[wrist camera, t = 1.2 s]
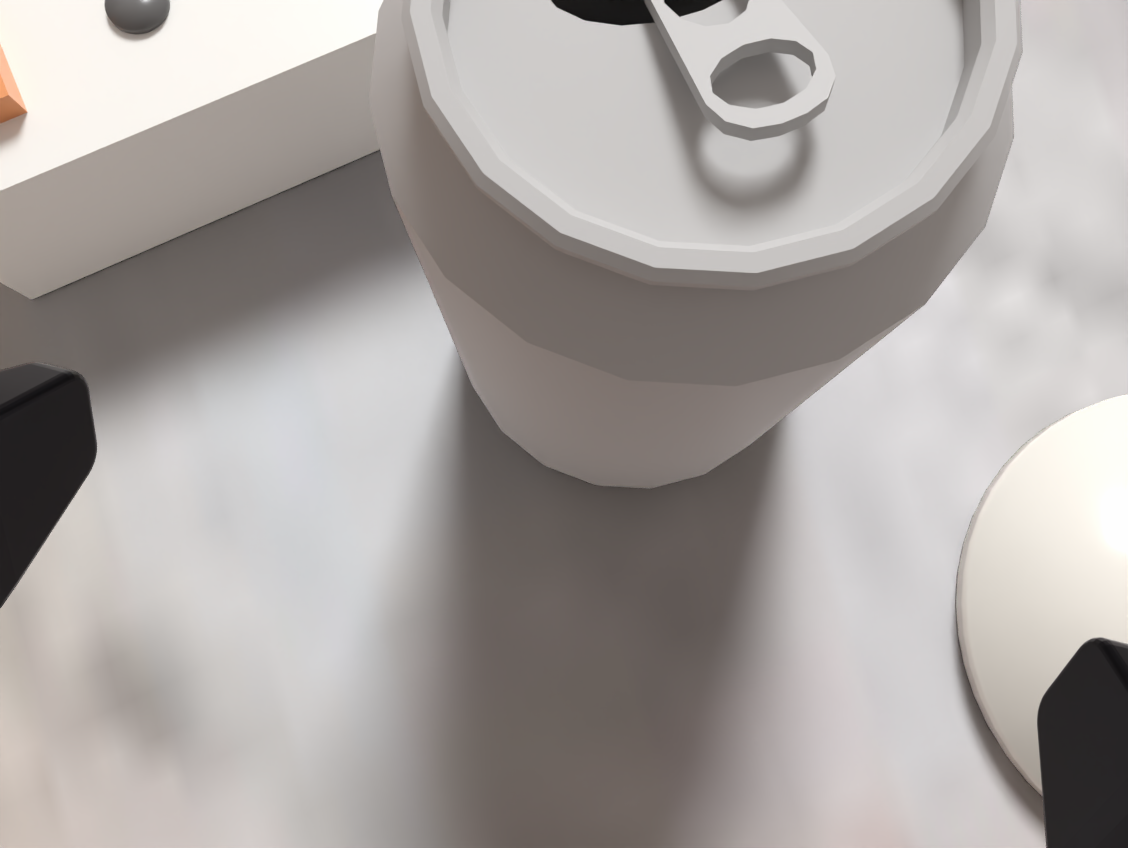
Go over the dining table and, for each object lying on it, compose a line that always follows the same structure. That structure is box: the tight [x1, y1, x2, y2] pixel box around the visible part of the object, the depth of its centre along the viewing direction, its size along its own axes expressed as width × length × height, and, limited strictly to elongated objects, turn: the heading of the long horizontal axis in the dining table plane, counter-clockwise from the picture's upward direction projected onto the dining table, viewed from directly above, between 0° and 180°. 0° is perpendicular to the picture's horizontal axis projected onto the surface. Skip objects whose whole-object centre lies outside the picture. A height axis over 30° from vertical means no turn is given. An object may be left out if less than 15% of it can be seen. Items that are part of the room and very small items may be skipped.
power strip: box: [0, 0, 383, 300], centre depth 19 cm, size 5×14×5 cm, turn 116°
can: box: [369, 0, 1023, 489], centre depth 15 cm, size 8×8×12 cm
